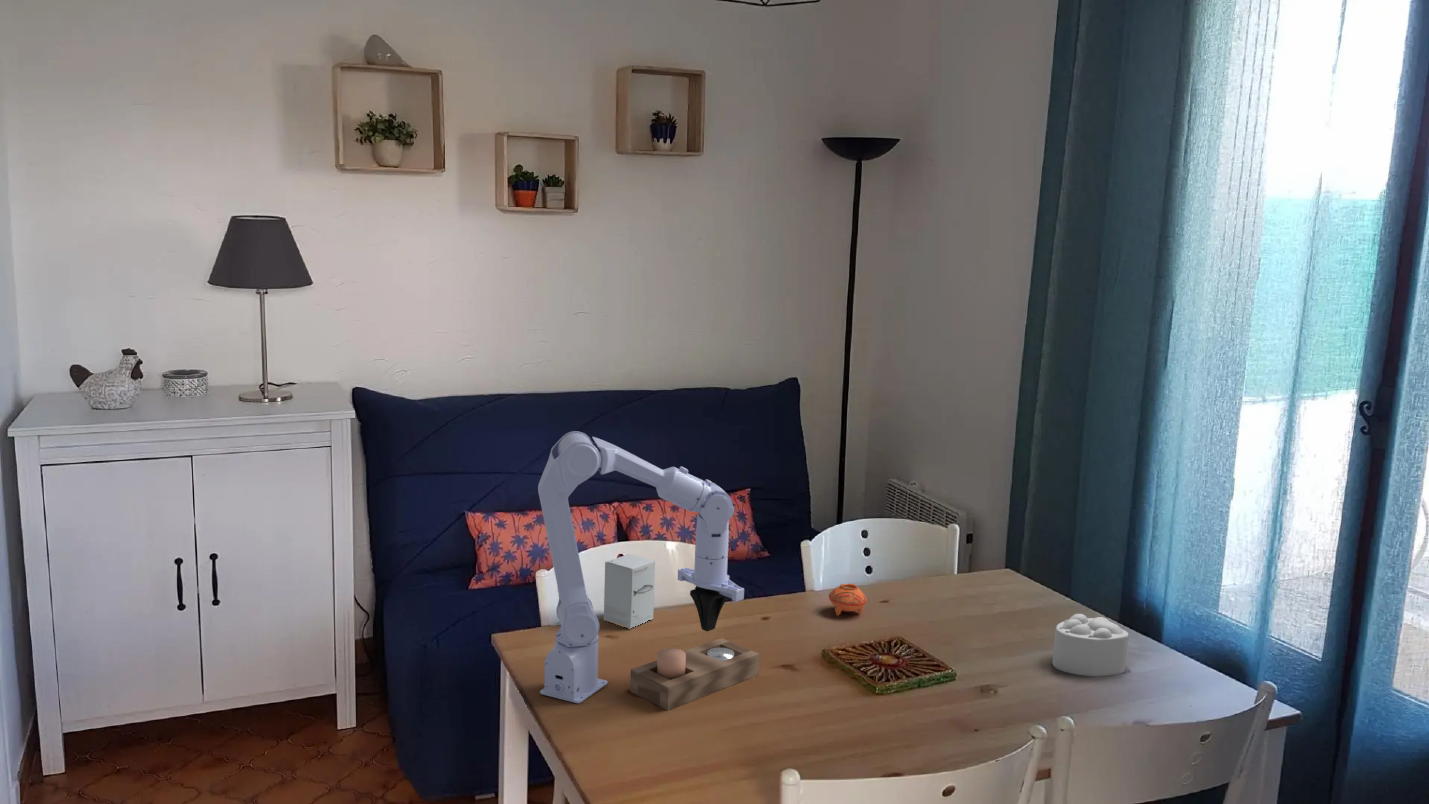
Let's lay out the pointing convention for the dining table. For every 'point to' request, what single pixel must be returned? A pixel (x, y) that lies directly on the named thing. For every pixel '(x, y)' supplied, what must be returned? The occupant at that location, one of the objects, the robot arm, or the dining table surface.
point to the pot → (847, 598)
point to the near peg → (671, 663)
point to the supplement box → (629, 590)
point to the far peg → (720, 653)
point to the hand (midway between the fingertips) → (708, 629)
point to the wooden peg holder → (695, 675)
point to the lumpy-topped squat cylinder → (1090, 646)
